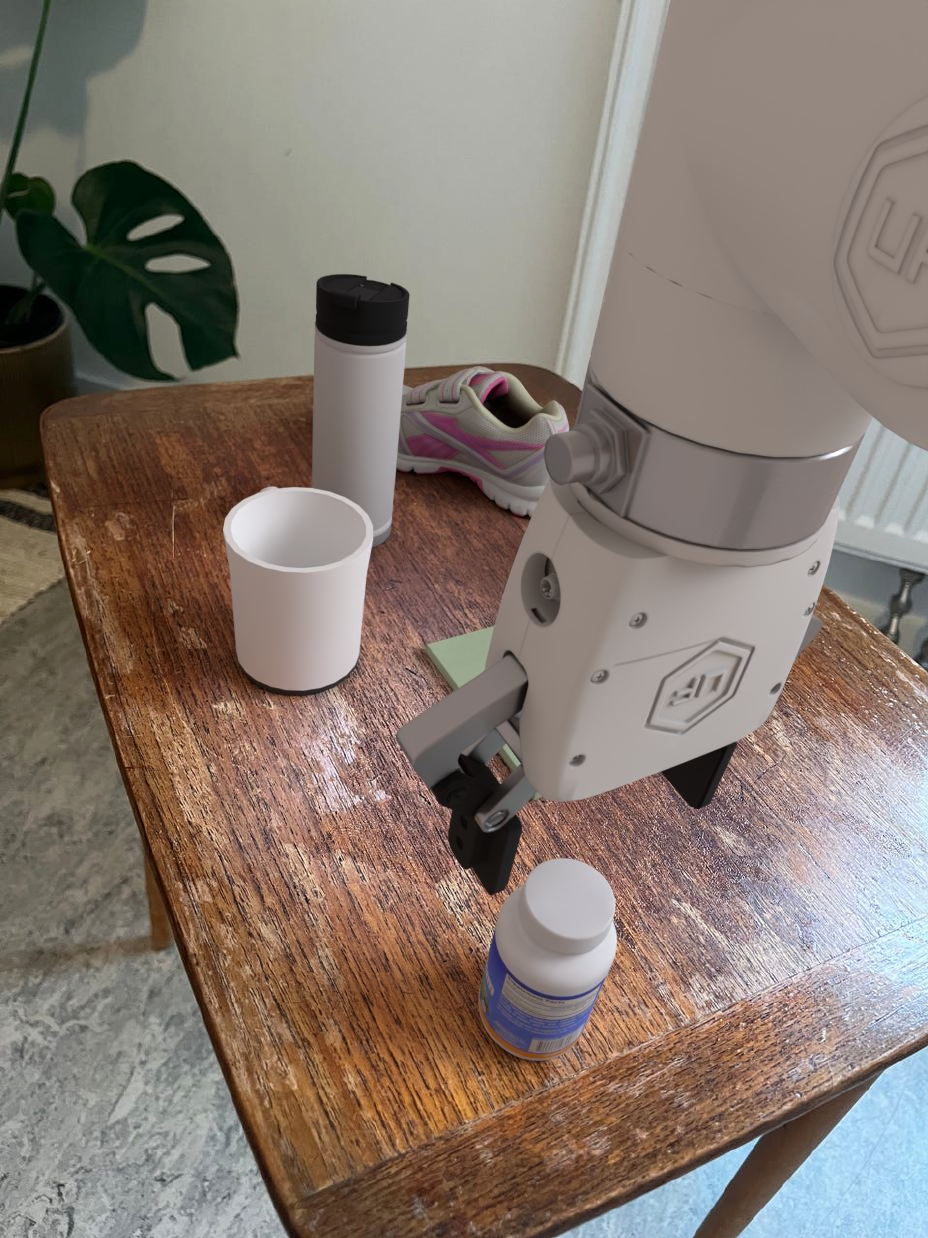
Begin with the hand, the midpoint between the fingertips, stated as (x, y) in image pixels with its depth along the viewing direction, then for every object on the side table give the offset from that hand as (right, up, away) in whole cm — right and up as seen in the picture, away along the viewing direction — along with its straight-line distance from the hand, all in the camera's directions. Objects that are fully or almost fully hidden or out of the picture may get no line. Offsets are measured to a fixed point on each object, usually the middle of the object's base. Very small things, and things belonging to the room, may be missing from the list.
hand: (583, 820), depth 38 cm
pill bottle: (-1, -11, +9) cm, 14 cm away
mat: (+1, +3, +26) cm, 26 cm away
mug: (-16, +6, +27) cm, 32 cm away
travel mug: (-14, +15, +38) cm, 43 cm away
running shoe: (-5, +21, +47) cm, 52 cm away
